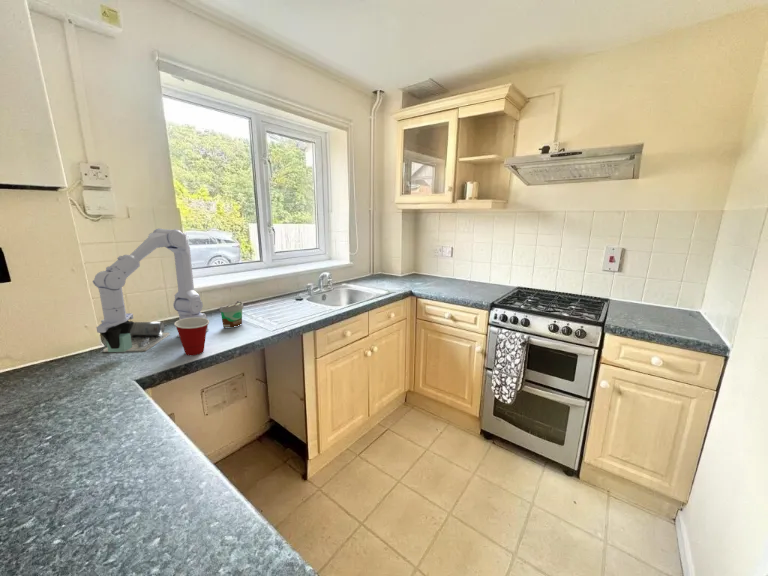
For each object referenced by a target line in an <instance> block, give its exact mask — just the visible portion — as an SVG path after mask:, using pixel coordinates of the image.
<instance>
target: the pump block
mask: <svg viewBox="0 0 768 576" xmlns="http://www.w3.org/2000/svg"><path fill="white" fill-rule="evenodd" d="M105 341H106V346H107V347H108V352H107V353H115V352H116V353H123V352H125V351H126V352H128V351H127V350H128V349H130V348H131V347H132V342H131V335H130V333H127V334H120V337H119V341H120V346H119V348H117V349H111V347H110V345H109V343H108V342H107V340H106V339H105ZM107 347H106V348H107ZM126 352H125V353H126Z"/></svg>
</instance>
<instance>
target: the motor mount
mask: <svg viewBox="0 0 768 576" xmlns="http://www.w3.org/2000/svg"><path fill="white" fill-rule="evenodd" d="M170 334H171V333H170V332H165V323H164V322H162V321H133V326H132V328H131V330H130V335H131V342H132V347H131V348H130V349H128V350H127V351H125V353H126V352H146V351H148V350H149V349H151V348H153V347H154V346H156V345H157V344H159V343H160V342H162V341H163V340H164V339H166V338H167V337H169V336H170ZM102 352H103V353H109V352H108V347H104V348H103V349H102Z"/></svg>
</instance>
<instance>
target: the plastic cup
mask: <svg viewBox="0 0 768 576" xmlns="http://www.w3.org/2000/svg"><path fill="white" fill-rule="evenodd" d="M209 324H210V320H209V319H208V318H207V319H205V318H197V317H194V318H185V319H181V320H179V319H178V320H176V321H174V326H175V328H176V330H177V333H178V334H179V336H180V337H179V339H180V342H181V345H182V347H183V350H184V353H185V355H187V356H190V355H191V356H198V355H201V354H202V352H203V351H204V350H205V343H206V337H207V332H206V330H207V326H208V325H209ZM200 353H201V354H200ZM203 353H204V352H203ZM197 354H198V355H197Z"/></svg>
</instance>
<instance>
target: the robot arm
mask: <svg viewBox="0 0 768 576" xmlns="http://www.w3.org/2000/svg"><path fill="white" fill-rule="evenodd" d="M188 243H189V242H188V241H187V236H186V234H185V233H184V232H183V231H181V230H179V229H175V228H174V229H170V228H169V229H167V228H166V229H165V228H155V229H154V230H153V231H152V232H151V233H149V234H148V236H147V238H146V239H145V240H144V241H143V242H142V243H140V244H139V246H138V247H136V249H134V251H132V252H131V253H130V254H123V255H119V256H117V258H116V259H117V260H116V261H114V262H113V263H112V264H111V265H109V266H106V267H105V270H102V271H99V272H97V273H96V274H95V276H94V278H93V280H92V284H93V285H94V286H95V287H96V288H97V289H98V292H99V297H100V303H101V309H102V315H103V319H102V320H100V322H101V323H100V324H99V325H97V326H96V327H95V328H96V333H97V334H98V333H99V334H100V335H101V336H103V338H104V339H105V341H106V340H107V342H108V343H109V345H110V347H111V349H117V348H119V346H120V341H119V337H120V334H127V333H130V330H131V328H132V326H133V322H134V321H132V320H133V319H134V314H133V313H132V312H131V313H127V312H126V305H125V300H124V299H125V298H124V292H123V288H124V286H125V285H126V280H127V279H128V278H129V277H130V276H131V275H132V274H133V273H134V272H136V270H138V269H139V268H140V266H141V263H140V262H141V261H142V260H144V259H145V258H146V257H147V256H149V255H150V254H151V253H153V252H154V251H155V250H156V249H158V248H166V249H168V250H169V251H171V252H172V253H173V254H174V255H173V256H174V261H175V262H174V264H175V272H176V273H175V274H176V280H177V290H178V291H177V292H176V293H175V294H174V301H173V309H174V310H175V311H176V312H177V314H178V318H179V319H178V320H181V319H185V318H194V317H197V318H205V319H208V318H207V314H206V313H202V312H201V311H202V310H203V306H204V305H203V301H202V299H201V296H200V294H199V293H198V292H197V291H195V287H194V275H193V267H192V265H193V264H192V257H191V247H190V245H189V244H188ZM209 330H210V329H209V328H208V326H207V330H206V333H207V332H208V331H209ZM176 337H178V338H180V336H179V333H178V334H177V335H176ZM107 342H106V343H107Z"/></svg>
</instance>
